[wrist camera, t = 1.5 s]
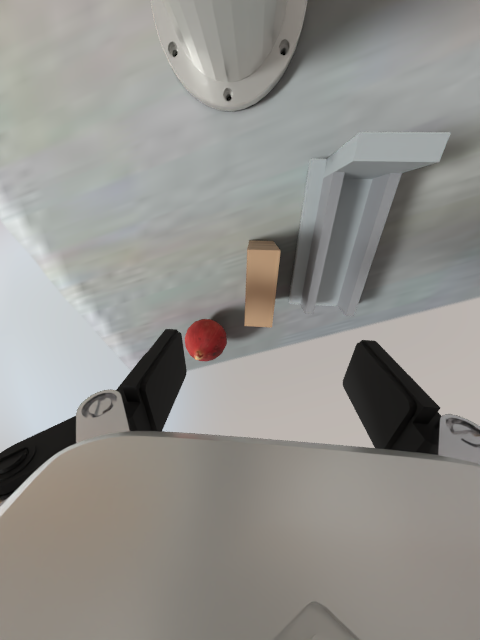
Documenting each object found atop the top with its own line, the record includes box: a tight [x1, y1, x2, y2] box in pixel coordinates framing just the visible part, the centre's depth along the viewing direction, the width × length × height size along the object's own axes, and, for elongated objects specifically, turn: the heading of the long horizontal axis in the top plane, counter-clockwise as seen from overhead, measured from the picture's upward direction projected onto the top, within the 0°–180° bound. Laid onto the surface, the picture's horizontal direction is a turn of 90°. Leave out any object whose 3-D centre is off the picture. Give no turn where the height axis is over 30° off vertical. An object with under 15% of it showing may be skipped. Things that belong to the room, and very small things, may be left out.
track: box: [289, 132, 451, 316], centre depth 21 cm, size 16×9×8 cm, turn 179°
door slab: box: [244, 240, 281, 327], centre depth 23 cm, size 8×3×8 cm, turn 179°
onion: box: [185, 319, 227, 361], centre depth 28 cm, size 6×6×8 cm
